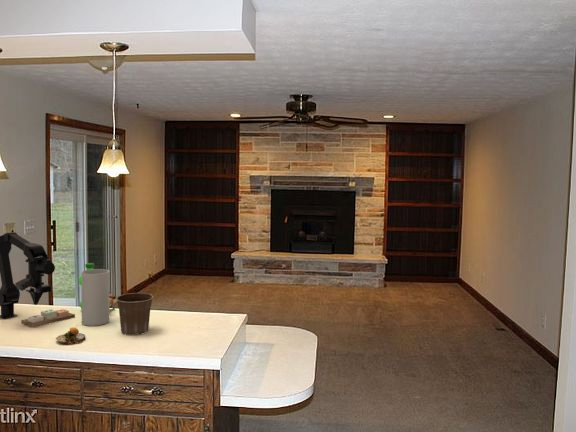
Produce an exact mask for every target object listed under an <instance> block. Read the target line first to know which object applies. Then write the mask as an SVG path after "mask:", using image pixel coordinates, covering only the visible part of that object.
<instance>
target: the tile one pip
mask: <svg viewBox="0 0 576 432" xmlns="http://www.w3.org/2000/svg"><path fill="white" fill-rule="evenodd" d="M27 319H28V321H29V322H32V323H35V322H39V321H44V317H43V316H41V314H35V315H29V316H27Z"/></svg>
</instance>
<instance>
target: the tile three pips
mask: <svg viewBox="0 0 576 432" xmlns="http://www.w3.org/2000/svg"><path fill="white" fill-rule="evenodd" d="M55 311H56V316H58V317H61V316H65V315H69V313H70V310H68V309H63V308H62V309H56V310H55Z"/></svg>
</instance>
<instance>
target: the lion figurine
mask: <svg viewBox="0 0 576 432" xmlns="http://www.w3.org/2000/svg"><path fill="white" fill-rule="evenodd" d="M109 309H112V310H115V309H116V307H115V303H114V299H113V298H111V297H109ZM109 315H110V312H109Z"/></svg>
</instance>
